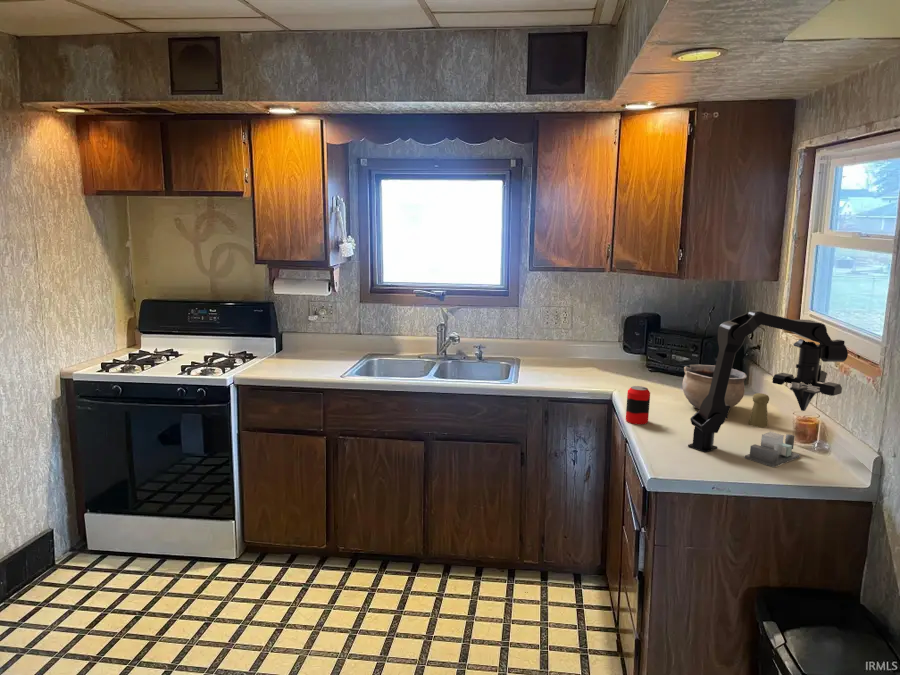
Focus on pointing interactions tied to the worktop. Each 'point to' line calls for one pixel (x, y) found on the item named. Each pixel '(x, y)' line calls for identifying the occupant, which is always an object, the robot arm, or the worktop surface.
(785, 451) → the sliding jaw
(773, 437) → the steel block
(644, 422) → the soda can
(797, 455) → the base
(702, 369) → the ceramic bowl
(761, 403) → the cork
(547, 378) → the worktop surface
